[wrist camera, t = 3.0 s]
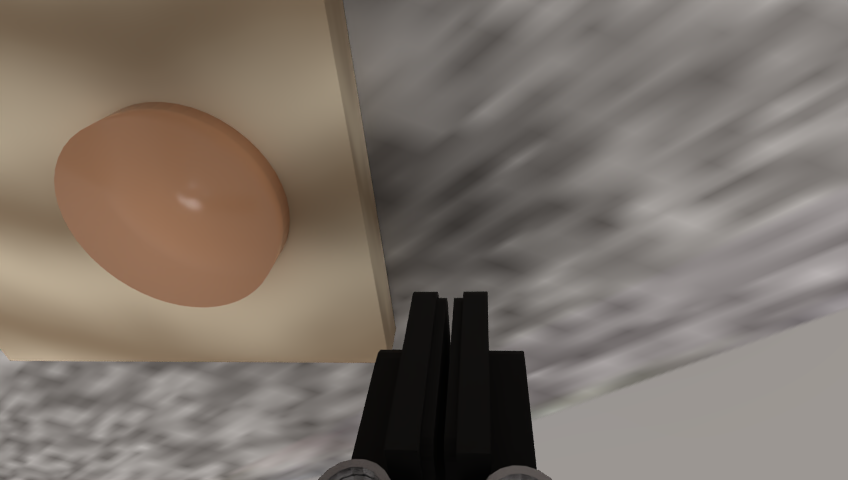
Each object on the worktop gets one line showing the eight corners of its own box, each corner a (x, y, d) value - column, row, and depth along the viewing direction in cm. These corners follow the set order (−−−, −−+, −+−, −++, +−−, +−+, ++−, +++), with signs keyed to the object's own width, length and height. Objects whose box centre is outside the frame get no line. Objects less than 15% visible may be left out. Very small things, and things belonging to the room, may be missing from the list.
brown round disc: (46, 109, 15) (8, 126, 14) (256, 92, 14) (235, 109, 13) (139, 283, 19) (116, 309, 18) (310, 279, 18) (298, 305, 17)
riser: (-221, -36, 15) (-305, -31, 14) (326, -97, 13) (306, -99, 12) (42, 330, 24) (10, 360, 22) (395, 329, 22) (389, 362, 20)
